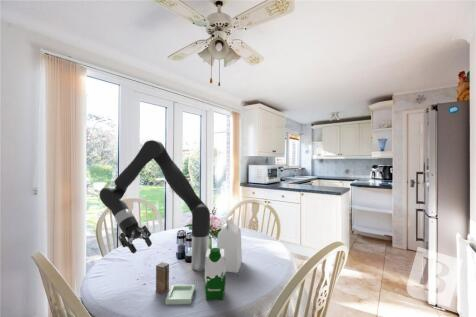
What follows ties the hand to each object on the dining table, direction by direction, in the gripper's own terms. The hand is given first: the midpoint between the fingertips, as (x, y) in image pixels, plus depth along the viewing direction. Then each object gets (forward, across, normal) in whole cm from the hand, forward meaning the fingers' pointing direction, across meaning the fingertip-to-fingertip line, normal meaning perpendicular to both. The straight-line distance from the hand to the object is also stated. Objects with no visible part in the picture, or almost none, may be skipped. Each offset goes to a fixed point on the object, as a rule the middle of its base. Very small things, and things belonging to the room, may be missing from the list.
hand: (143, 248), depth 100 cm
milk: (+32, +33, -9) cm, 46 cm away
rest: (+27, +1, -4) cm, 27 cm away
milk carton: (+36, +8, -13) cm, 39 cm away
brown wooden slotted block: (+20, 0, +3) cm, 20 cm away
